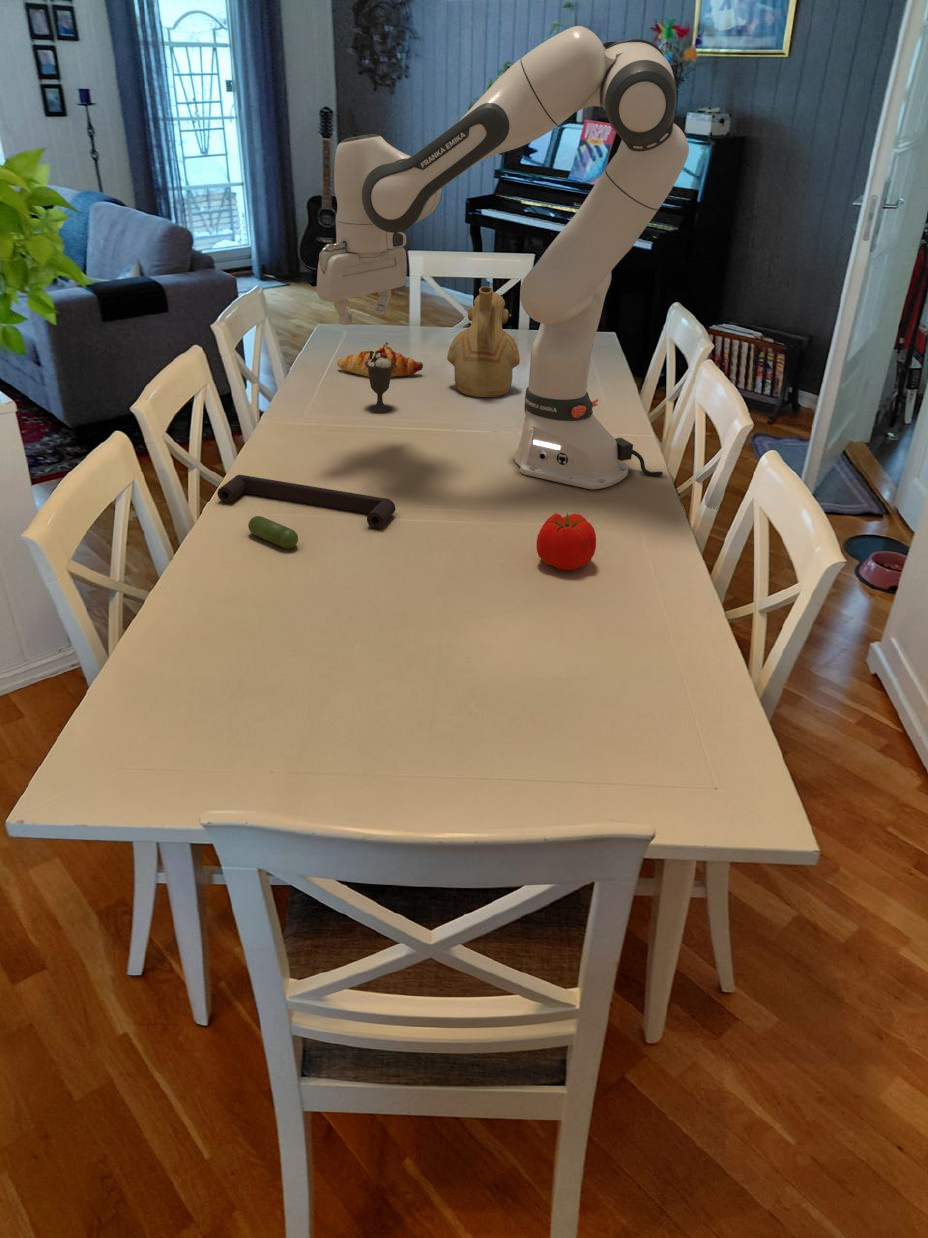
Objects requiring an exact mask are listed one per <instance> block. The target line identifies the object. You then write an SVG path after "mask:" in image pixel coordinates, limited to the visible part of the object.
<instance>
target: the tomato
mask: <svg viewBox="0 0 928 1238" xmlns="http://www.w3.org/2000/svg"><path fill="white" fill-rule="evenodd" d="M536 537H537V538H536V553H537V555H538V558H539V559H541V561H542V562H543V563H544V564H545V565H549V566H552V567H554V568H556V569H558V570H563V571H574V570H577V569H578V568H581V567H586V566H587V565H589V563H590V562H591V560H592V559H593V557H594V555H595V552H596V549H597V534H596V530H595V528H594V526H593V525H592V523H591V522H589V521H588V520H587V518H586V517H585V516H583V515H582V514H580V513H572V514H569V513H568V512H566V514H565V516H562V515H561V514H560V513H558V512H555V513H553V514H552V515H550V516H549V517H548V518H547V519H546V521H545V522H544V523H543V524H542V526H541V528H540V530H539V531H538V533H537V536H536Z"/></svg>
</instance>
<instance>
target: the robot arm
mask: <svg viewBox="0 0 928 1238" xmlns="http://www.w3.org/2000/svg"><path fill="white" fill-rule="evenodd" d="M677 100H678V92H677V84H676V82H675V75H674V72H673V68H672V66H671V64H670V63H669V61H668V59H667V58H666V57H665V54H664V53H663V51H662V50H661V49H660V47H658V46H657V45H656V44H655V43H653V42H651V41H649V40H647V39H643V38H631V39H624V40H617V41H607V42H602V41H601V40H600V38H599V37H598V35H596V34H595V33H594V31H592V30H590V29H589V28H588V27H586V26H582V25H575V26H571V27H569V28H567V29H565V30H563V31H561V32H559V33H557V34H555V35H553V36H552V37H550V38H548V39H546V40H545V41H544V42H542V43H540V44H539V45H537V46H536V47H534V48H533V49H531V50H530V51H529V52H527V53H525V55H523V56H522V57H520V58H519V59H517V61H516V62H514V63H513V64H512V65H511V66H510V67H509V68H507V69H506V70H505V71H504V72H503V73H502V74H501V75H500V76H499V77H498V78H497V79H496V80H495V81H494V82H493V83H492V84H491V85H490V87H489V88H487V90H486V91H485V92H484V93H483V94H482V96H480V98H479V99H478V100H477V101H476V102H475V103H474V104H473V106H471V107H470V108H469V110H468V111H467V112H466V113H465V114H464V115H463V116H462V117H461V118H460V119H458V121H457V122H455V124H453V125H451V126H450V127H449V128H448V129H447V130H446V131H444V132H443V133H441V134H440V135H439V136H437V137H435V139H433V140H432V141H431V142H429V143H428V144H426V145H425V146H424V147H423V148H421V149H420V150H418V151H417V152H415V153H414V154H413V155H408V154H406V153H405V152H403V151H400V150H399V149H398V148H396V147H394V146H392V145H391V144H389V142H387V141H386V140H385V139H384V138H383V137H382V136H381V135H379V134H377V133H373V134H372V133H371V134H363V135H357V136H352V137H348V138H347V137H346V138H344V139H343V140H341V141H340V142H339V143H338V145H337V147H336V151H335V156H334V171H333V172H334V174H333V177H334V180H333V183H334V195H335V199H336V203H337V204H336V205H337V207H336V208H337V209H336V214H335V234H336V235H335V236H336V239H335V240H336V242H335V243H327V244H325V245H324V247H323V248H322V250H321V251H320V252H319V255H318V264H317V274H316V275H317V276H316V295H317V296H318V297H319V299H320V300H321V301H325V302H329V303H333V306H334V308H335V310H336V312H337V313H338V317H339V324H340V325H341V326H348V325H351V324H352V323H353V314H352V313H349V311H348V308H347V307H346V306H348V305H349V300H351V299H355V298H358V297H363V296H368V295H373V294H376V293H377V295H379V296H378V300H377V303H376V304H374V315H375V316H377V317H382V316H387V315H388V304H389V302H390V300H391V297H392V290H394V289H398V288H402V287H404V285H405V283H406V280H407V271H408V270H407V268H408V267H407V266H408V265H407V264H408V263H407V251H406V249H405V248H404V247H405V246H406V244H407V235H406V233H404V231H406V230H408V229H409V228H410V227H412V226H413V225H414V224H416V223H418V222H420V221H422V220H423V219H425V218H427V217H428V216H431V214H432V213H434V212H435V210H436V209H437V208H438V206H439V205H440V202H441V200H442V196H443V188H444V187H445V186H446V185H448V184H449V183H451V182H452V181H454V180H455V179H456V178H458V177H459V176H460V175H461V174H463V173H464V172H466V171H467V170H469V169H470V168H471V167H473V166H475V165H476V164H478V163H479V162H482V161H483V160H486V159H488V158H490V157H493V156H496V155H499V154H502V153H506V152H510V151H511V150H516V149H518V148H521V147H523V146H525V145H528V144H530V143H532V142H535V140H538V139H540V138H542V137H543V136H546V135H547V134H548V133H550V132H552V130H554V129H556V128H557V127H558V126H559V125H561V124H562V123H564V122H565V121H566V120H568V118H570V117H571V116H572V115H574V114H575V113H577V112H579V111H581V110H583V109H586V108H590V107H599V108H601V107H602V109H603V110H604V111H605V115H606V118H607V121H608V122H609V124H610V126H611V127H612V129H613V130H614V132H615V133H616V134H617V135H618V136H619V138H620V144H619V145H618V147H617V150H616V153H615V154H614V155H613V156H612V158H611V159H610V161H609V162H608V164H607V165H606V167H605V169H604V170H603V172H602V173H601V175H600V176H599V177H598V180H597V181H596V183H595V184H594V185H593V187H592V188H591V190H590V192H589V193H588V194H587V196H586V197H585V200H584V201H583V203H582V204H581V206H580V207H579V209H578V210H577V211H576V212H575V214H574V215H573V217H572V218H570V220H569V221H568V222H567V223H566V224H565V226H564V227H563V229H562V230H561V231H560V232H559V233H558V235H557V236H556V237H555V238H554V239H553V241H552V242H551V243H550V245H549V246H548V247H547V249H545V251H544V253H543V254H541V257H540V258H539V259H538V260H537V262H536V263H535V264H534V265H533V267H532V268H531V269H530V270H529V271H528V272H527V274H526V275H525V276H524V278H523V280H522V282H521V285H520V289H519V294H520V295H519V298H520V303H521V306H522V309H523V310H524V312H525V313H526V315H527V316H528V317H529V318H530V319H532V320H533V321H535V322H537V323H539V327H538V329H537V330H538V331H537V334H536V336H535V339H534V340H533V343H532V345H531V351H530V363H529V374H528V375H529V376H528V387H527V388H526V389H525V396H524V415H525V416H524V420H523V421H524V422H523V428H522V432H521V436H520V441H519V443H518V447H517V448H516V449H517V450H516V453H515V455H514V458H513V459H514V462H515V463H516V464H517V465H518V466H519V473H521V474H522V475H524V476H529V477H533V478H538V479H543V480H546V481H551V482H555V483H560V484H565V485H570V486H574V487H577V488H581V489H582V488H583V489H586V490H600V489H605V488H609V487H611V486H614V485H616V484H618V483H620V482H621V481H623V480H624V479H625V478H626V477H627V476H628V475H629V465H627V464H626V463H623V461H630V460H632V458H633V457H632V456H635V457H636V459H638V460H639V464H640V469H641V472H642V473H643V474H645V475H647V476H650V477H657V476H659V477H662V476H663V473H664V472H663V471H650V470H648V469H646V464H645V459H644V457H643V455H641V454H640V453H639V452H638V451H636V450H634V444H633V443H631V442H630V441H628V440H627V439H625V438H623V437H614V436H613V435H612V434H611V433H610V432H609V431H608V429H606V427H605V426H603V424H602V423H601V422H600V421H599V419H597V417H596V416H595V415H594V414H593V413H594V412H593V408H594V407H597V406H598V405H599V404H598V402H599V399H595V400H593V401H592V400H591V398H590V396H589V393H588V383H589V374H590V367H591V366H590V365H591V357H592V351H593V347H594V344H595V343H594V342H595V339H596V335H597V331H598V328H599V324H600V321H601V316H602V313H603V312H602V311H603V307H604V304H605V299H606V296H607V293H608V290H609V288H610V285H611V282H612V271H613V270H614V268H615V267H616V266H617V265H618V263H619V262H620V261H621V260H622V259H623V258H624V257H625V256H626V255H627V254H628V253H629V252H630V250H632V248H633V247H634V245H635V244H636V242H637V241H638V239H639V238H640V236H641V235H642V234H643V232H644V231H645V229H646V228H647V227H648V225H649V224H650V222H651V221H652V220H653V218H654V217H655V215H656V214H657V212H658V211H659V210H660V208H661V206H662V205H663V204H664V202H665V201H666V199H667V197H668V196H669V194H670V193H671V191H672V189H673V188H674V186H675V184H676V182H677V180H678V179H679V177H680V174H681V173H682V171H683V169H684V167H685V164H686V162H687V160H688V157H689V153H690V146H689V141H688V139H687V136H686V135H685V133H684V132H683V130H682V129H681V128H680V126H678V125H677V124H676V123H675V116H676V109H677Z"/></svg>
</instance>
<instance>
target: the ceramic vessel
mask: <svg viewBox="0 0 928 1238" xmlns="http://www.w3.org/2000/svg"><path fill="white" fill-rule="evenodd" d="M478 293H479V294H478V295H477V296H476V297H475V299H474V300H473V303H474V305H471V306H469V308H468V311H467V318H468V321H469V322H471V324H470V326H469V327H468V328H466V329H464V330H462V331H460V332H459V333H457V335H456V336H455V337H454V338H453V339H452V342H451V343H450V345H449V348H448V351H447V357H446V359H447V362H449V363H450V364H451V365H452V366H453V369H454V370H453V371H454V372H453V373H454V375H453V376H454V384H455V387H456V389H457V390H458V391H459V392H460V393H462V394H463V395H467V396H469V397H477V398H499V397H501V396H504V395H505V394H507V393H508V392H509V390H510V389H511V387H512V384H513V373H514V372H513V371H514V370H513V369H514V368H516V367H518V366H519V365H520V362H521V359H520V352H519V348H518V345H517V343H516V340H515V339H514V337H513V336H512V335H510V333H507V332H506V331H505V330H504V329H503V325H505V324H507V322H508V321H509V310H508V309H507V308H505V306H506V301H505V299H504V298H503V296H502V295H500V294H499V293H497V292H495V291H494V290H493V288H492V287H491V286H481V287H479V288H478Z"/></svg>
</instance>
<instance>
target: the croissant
mask: <svg viewBox="0 0 928 1238" xmlns="http://www.w3.org/2000/svg"><path fill="white" fill-rule="evenodd" d="M383 346H385V345H381V346H378V347H376V348H375V349H374V350H372V351H373V352H375V351H378V350H380V349H381V348H384V347H383ZM384 349H385V352H386V353H387V355H388V358H389V359H390V361H391V362H393V363H395V364H396V365H395V366H394V367H393V368H392V371H391V378H394V377H403V376H404V377H405V376H411V375H415V374H416V373H418V372H420V371H422V370H423V368H424V363H423V362H422V361H416V360H415V359H413V358H411V357H406V356H404V355H403V354H402V353H399V352H397V351H394V350H393V349H392V347H390V346H388V345H386V346H385V348H384ZM370 351H371V350H362V351H359V352H358V353H356V354H349V355H347V356H345V357H344V358H339V359H337V367H339V368H340V369H342V370H343V371H346V372H348V373H353V374H355V375H359V376H363V377H367V378H369V373H368V368H367V367H366V366H365V364H364V363H365V362H366V361H369V359H370Z"/></svg>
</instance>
